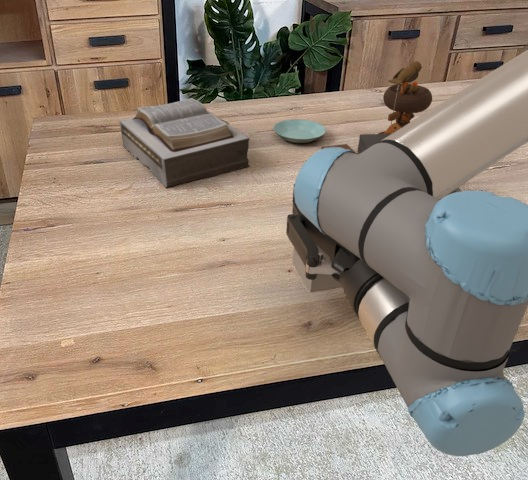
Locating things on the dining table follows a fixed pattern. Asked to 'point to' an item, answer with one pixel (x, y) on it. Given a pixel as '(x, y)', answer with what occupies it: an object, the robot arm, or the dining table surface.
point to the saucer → (299, 130)
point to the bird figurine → (405, 97)
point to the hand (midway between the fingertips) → (319, 190)
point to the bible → (184, 142)
